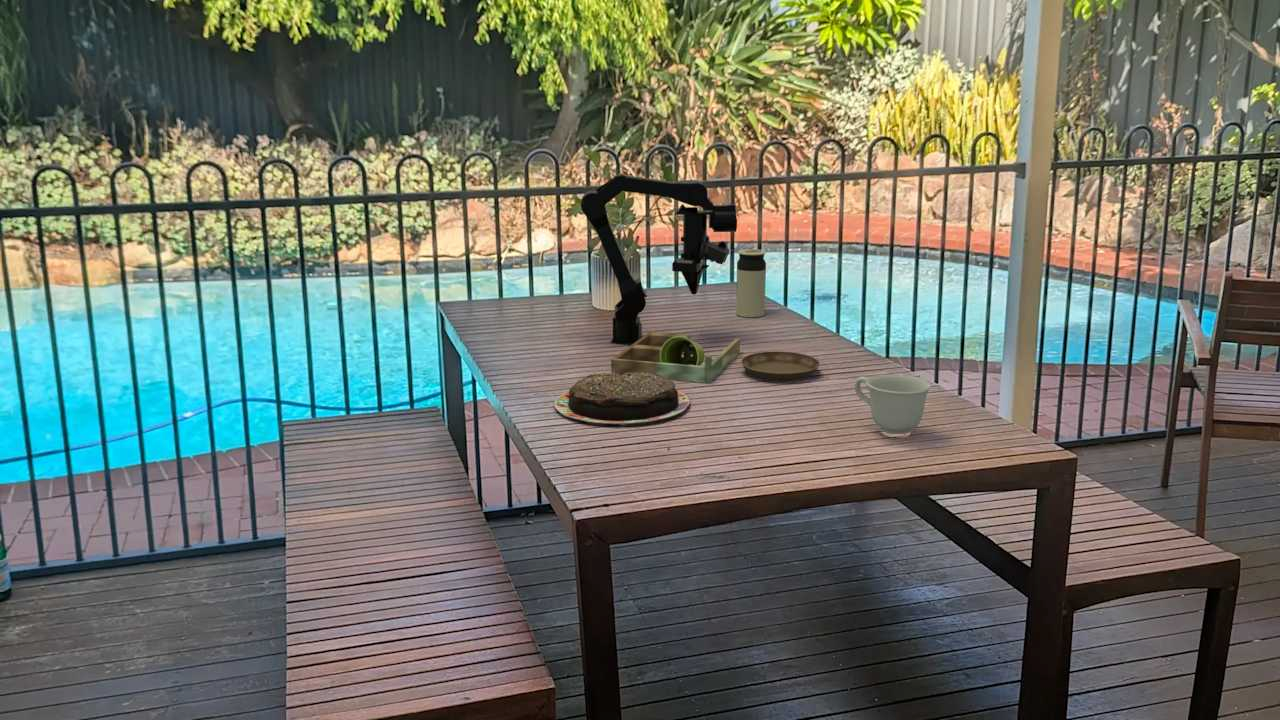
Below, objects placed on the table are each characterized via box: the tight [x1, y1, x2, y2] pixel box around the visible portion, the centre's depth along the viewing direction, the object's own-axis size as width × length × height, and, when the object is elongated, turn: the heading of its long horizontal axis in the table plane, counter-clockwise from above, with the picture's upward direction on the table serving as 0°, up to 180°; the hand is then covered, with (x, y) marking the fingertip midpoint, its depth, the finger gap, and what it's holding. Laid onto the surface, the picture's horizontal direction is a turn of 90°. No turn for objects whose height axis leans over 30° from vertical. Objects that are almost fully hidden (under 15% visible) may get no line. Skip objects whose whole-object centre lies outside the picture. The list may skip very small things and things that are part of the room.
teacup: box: [854, 373, 933, 434], centre depth 205 cm, size 12×15×10 cm
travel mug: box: [735, 248, 767, 319], centre depth 301 cm, size 8×8×18 cm
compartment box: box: [610, 331, 741, 384], centre depth 254 cm, size 23×28×6 cm
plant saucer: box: [740, 351, 820, 383], centre depth 246 cm, size 18×18×3 cm
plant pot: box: [660, 336, 706, 366], centre depth 246 cm, size 9×9×9 cm
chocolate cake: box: [553, 372, 691, 428], centre depth 222 cm, size 28×28×7 cm
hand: (694, 294), depth 272 cm, fingers closed
